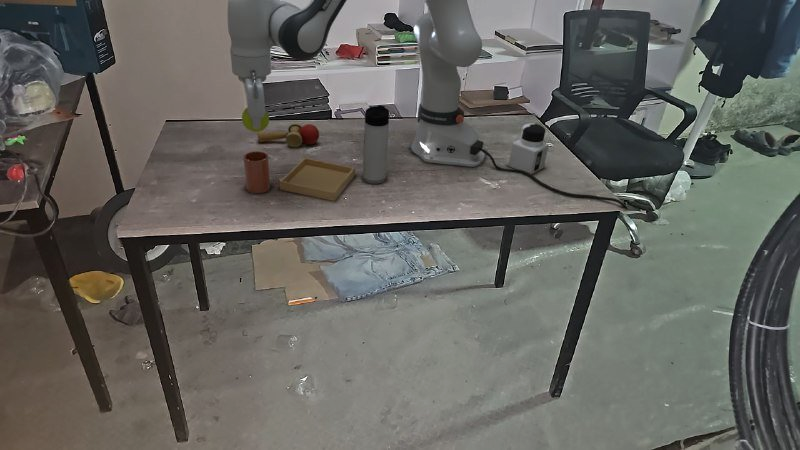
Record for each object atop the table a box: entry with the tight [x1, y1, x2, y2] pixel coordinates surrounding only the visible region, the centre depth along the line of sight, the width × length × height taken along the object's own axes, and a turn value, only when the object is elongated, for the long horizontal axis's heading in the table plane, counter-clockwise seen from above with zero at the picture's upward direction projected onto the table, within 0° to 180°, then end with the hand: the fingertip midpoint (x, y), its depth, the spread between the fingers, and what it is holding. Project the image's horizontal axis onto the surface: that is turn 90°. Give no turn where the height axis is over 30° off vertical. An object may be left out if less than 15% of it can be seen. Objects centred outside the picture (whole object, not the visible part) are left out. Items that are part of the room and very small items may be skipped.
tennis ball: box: [241, 107, 270, 133], centre depth 136 cm, size 6×6×6 cm
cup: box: [243, 150, 271, 194], centre depth 143 cm, size 6×6×9 cm
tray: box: [279, 157, 356, 202], centre depth 150 cm, size 15×15×2 cm
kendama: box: [257, 122, 320, 148], centre depth 168 cm, size 8×6×18 cm
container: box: [508, 123, 550, 175], centre depth 163 cm, size 8×8×13 cm
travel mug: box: [362, 104, 390, 185], centre depth 149 cm, size 6×7×20 cm
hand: (255, 121), depth 136 cm, fingers closed on tennis ball, 6 cm apart
